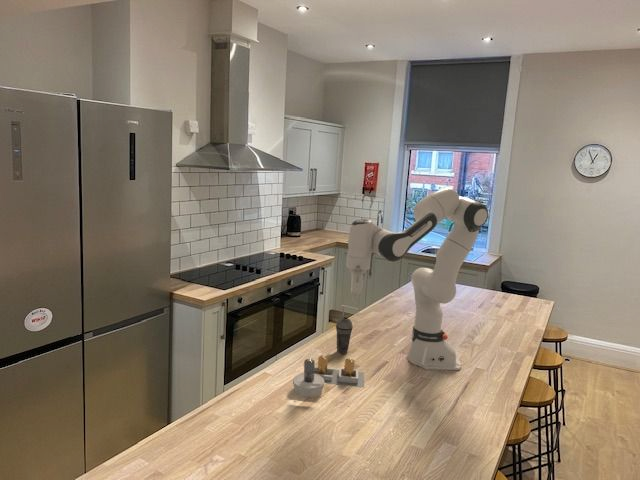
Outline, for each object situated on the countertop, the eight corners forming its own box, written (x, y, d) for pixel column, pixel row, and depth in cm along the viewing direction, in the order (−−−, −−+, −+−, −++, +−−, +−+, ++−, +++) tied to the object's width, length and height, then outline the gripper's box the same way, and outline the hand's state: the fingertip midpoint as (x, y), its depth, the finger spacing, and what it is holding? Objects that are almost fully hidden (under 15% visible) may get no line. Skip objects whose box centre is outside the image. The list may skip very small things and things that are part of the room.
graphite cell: (316, 380, 165) (316, 360, 163) (307, 383, 163) (308, 363, 161) (310, 375, 168) (310, 356, 166) (301, 378, 166) (302, 359, 164)
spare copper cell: (326, 373, 180) (328, 354, 179) (326, 377, 176) (327, 359, 175) (317, 372, 180) (318, 354, 179) (316, 376, 177) (318, 358, 175)
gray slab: (363, 375, 183) (364, 367, 183) (364, 390, 172) (364, 382, 171) (307, 369, 185) (308, 361, 184) (304, 384, 173) (304, 375, 172)
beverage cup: (349, 356, 199) (353, 311, 196) (332, 354, 201) (336, 309, 197) (351, 350, 206) (355, 306, 203) (335, 347, 208) (338, 304, 204)
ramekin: (300, 404, 159) (301, 390, 158) (287, 389, 169) (287, 375, 168) (329, 398, 164) (330, 384, 163) (314, 383, 174) (315, 370, 173)
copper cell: (347, 374, 180) (348, 356, 179) (354, 378, 178) (356, 359, 177) (341, 377, 177) (343, 358, 176) (349, 381, 175) (350, 362, 174)
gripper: (367, 270, 163) (363, 308, 166) (366, 258, 183) (363, 292, 186) (349, 269, 164) (346, 306, 166) (350, 256, 184) (347, 290, 186)
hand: (355, 299), depth 176 cm, fingers open, 8 cm apart
